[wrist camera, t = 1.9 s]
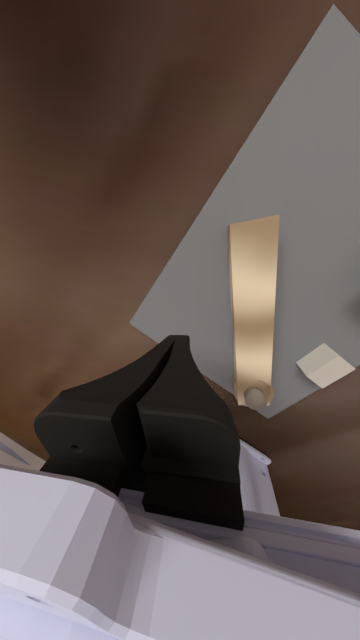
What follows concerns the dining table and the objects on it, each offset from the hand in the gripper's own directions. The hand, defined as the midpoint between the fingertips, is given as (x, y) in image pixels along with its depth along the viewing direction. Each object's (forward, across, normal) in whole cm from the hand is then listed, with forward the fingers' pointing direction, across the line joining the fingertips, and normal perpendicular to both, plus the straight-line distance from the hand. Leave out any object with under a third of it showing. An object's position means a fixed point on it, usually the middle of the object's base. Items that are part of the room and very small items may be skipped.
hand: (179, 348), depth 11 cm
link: (+6, -6, +1) cm, 8 cm away
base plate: (+7, -8, -2) cm, 11 cm away
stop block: (+7, -12, +5) cm, 15 cm away
